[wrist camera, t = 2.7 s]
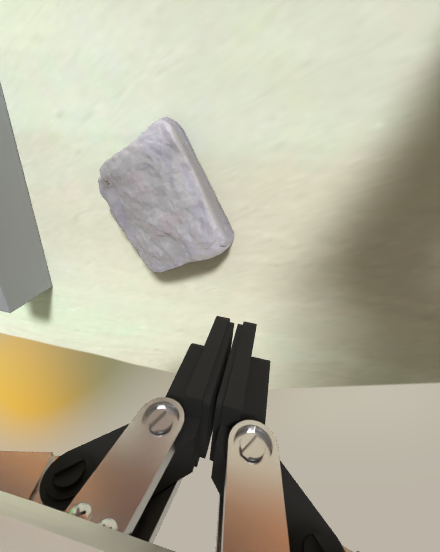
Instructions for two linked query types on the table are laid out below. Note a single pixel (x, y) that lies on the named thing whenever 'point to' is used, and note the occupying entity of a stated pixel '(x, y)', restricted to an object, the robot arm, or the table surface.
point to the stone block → (165, 199)
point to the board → (17, 228)
